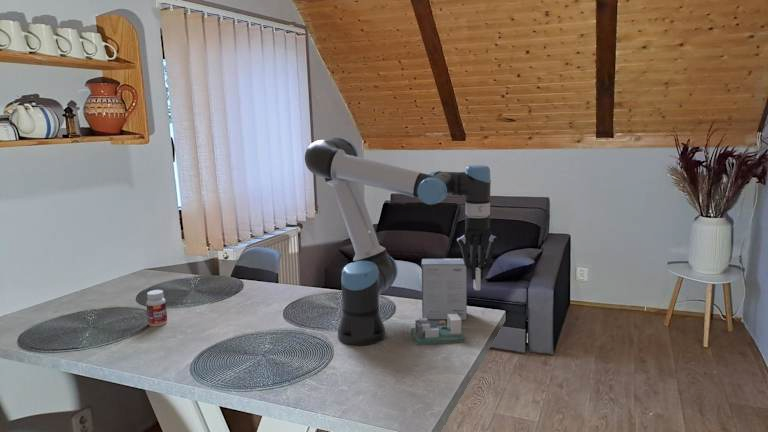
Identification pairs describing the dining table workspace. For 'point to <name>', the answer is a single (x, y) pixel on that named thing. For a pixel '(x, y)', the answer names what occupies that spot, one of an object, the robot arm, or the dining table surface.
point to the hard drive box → (444, 288)
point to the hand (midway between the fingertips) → (476, 288)
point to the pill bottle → (156, 308)
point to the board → (437, 339)
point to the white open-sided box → (454, 323)
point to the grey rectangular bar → (433, 323)
